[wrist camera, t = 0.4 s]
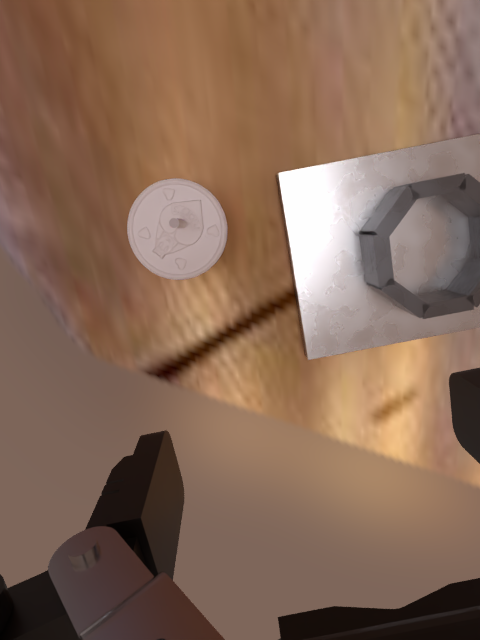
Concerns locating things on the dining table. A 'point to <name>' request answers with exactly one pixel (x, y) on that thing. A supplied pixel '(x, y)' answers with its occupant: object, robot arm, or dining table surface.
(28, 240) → the dining table surface
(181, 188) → the smoothie
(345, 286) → the hub plate
